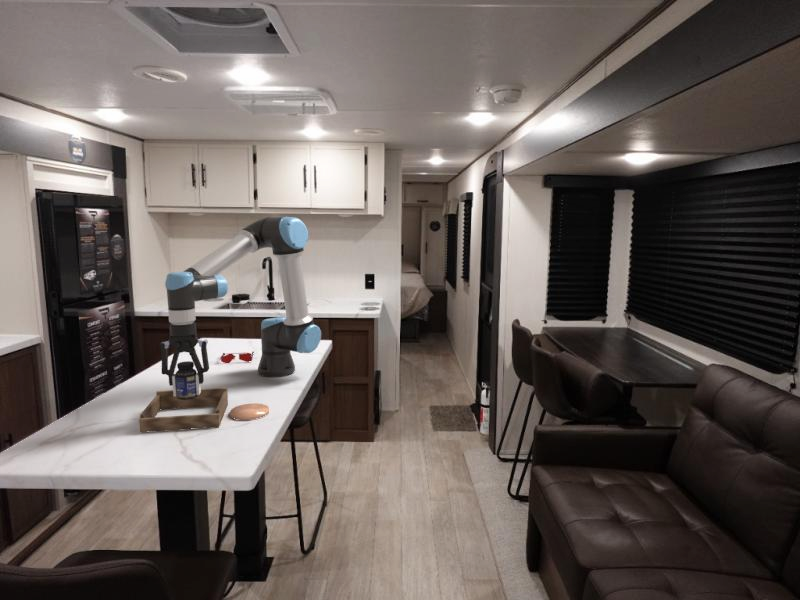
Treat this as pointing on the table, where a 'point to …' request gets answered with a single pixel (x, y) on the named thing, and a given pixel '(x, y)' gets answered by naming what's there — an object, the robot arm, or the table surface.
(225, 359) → the glasses
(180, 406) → the frame
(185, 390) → the pill bottle
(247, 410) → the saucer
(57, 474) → the table surface
